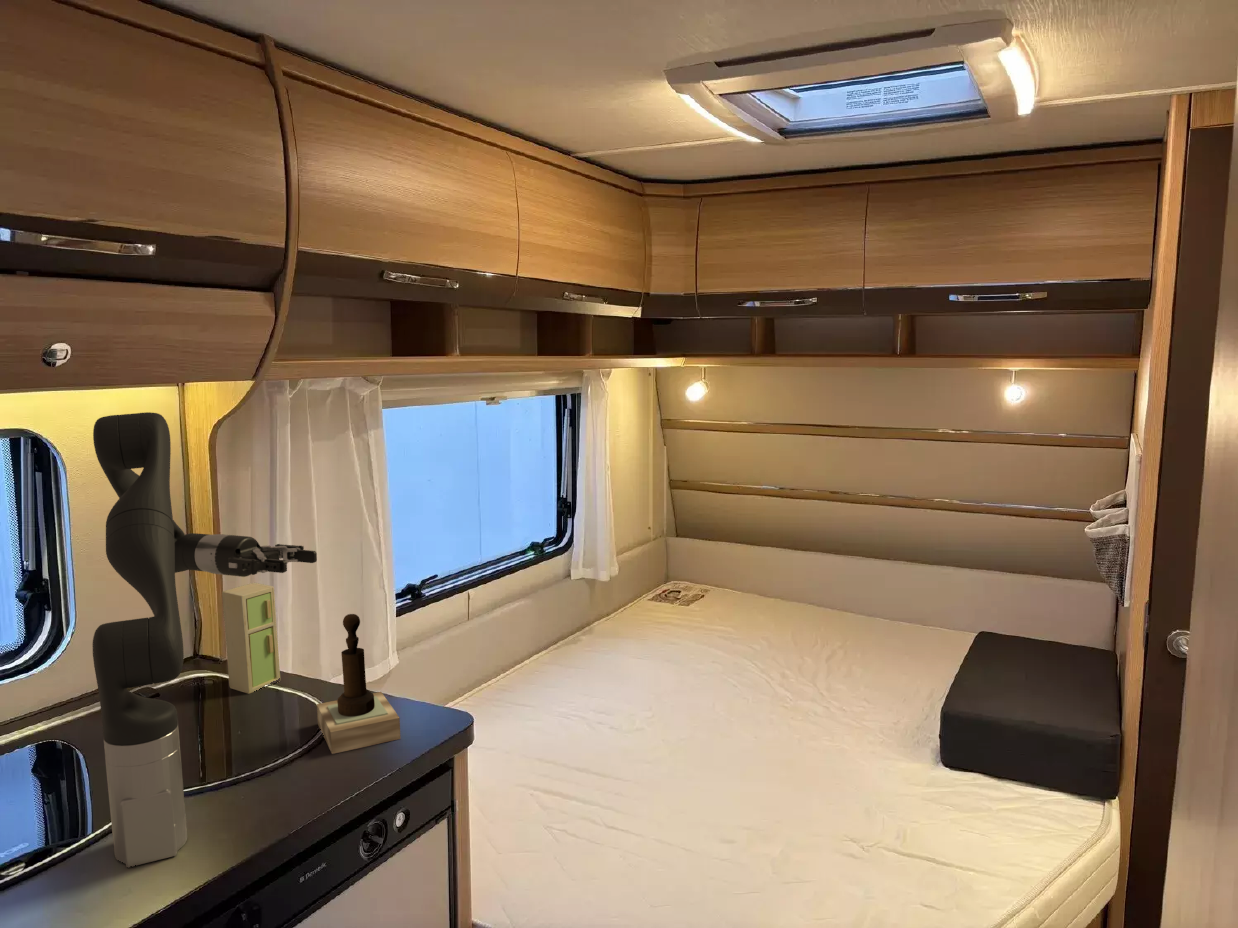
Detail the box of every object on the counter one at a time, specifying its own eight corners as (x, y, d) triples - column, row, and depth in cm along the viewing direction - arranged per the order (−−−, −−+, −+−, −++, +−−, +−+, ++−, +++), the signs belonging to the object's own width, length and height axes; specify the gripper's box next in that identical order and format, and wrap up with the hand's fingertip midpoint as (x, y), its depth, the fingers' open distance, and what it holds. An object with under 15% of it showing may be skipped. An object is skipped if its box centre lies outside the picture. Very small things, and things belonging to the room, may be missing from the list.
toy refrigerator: (250, 695, 180) (243, 595, 177) (228, 688, 184) (220, 590, 181) (283, 682, 187) (276, 586, 184) (261, 676, 190) (254, 581, 188)
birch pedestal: (400, 738, 159) (399, 716, 158) (332, 753, 153) (330, 730, 153) (382, 711, 171) (381, 690, 170) (317, 724, 165) (316, 702, 165)
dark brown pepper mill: (331, 709, 162) (325, 614, 159) (363, 699, 166) (358, 606, 164) (349, 719, 157) (343, 622, 155) (381, 708, 161) (376, 614, 159)
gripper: (198, 542, 158) (274, 549, 153) (253, 528, 172) (324, 534, 167) (200, 582, 159) (275, 591, 154) (254, 566, 172) (325, 573, 168)
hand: (301, 561), depth 160 cm, fingers open, 8 cm apart
